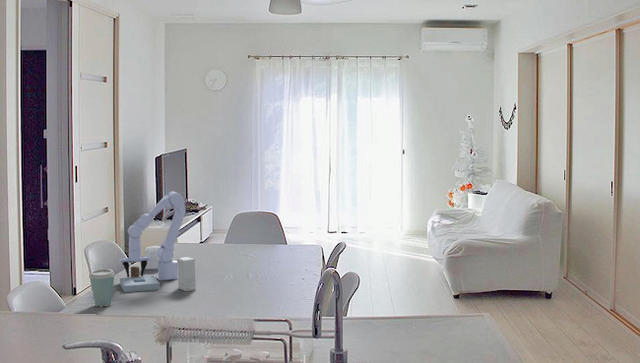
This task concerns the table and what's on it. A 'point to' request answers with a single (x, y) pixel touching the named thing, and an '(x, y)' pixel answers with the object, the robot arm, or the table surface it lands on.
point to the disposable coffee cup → (102, 286)
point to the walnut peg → (134, 271)
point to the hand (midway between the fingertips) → (135, 276)
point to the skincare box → (186, 274)
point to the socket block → (139, 283)
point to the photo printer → (152, 257)
